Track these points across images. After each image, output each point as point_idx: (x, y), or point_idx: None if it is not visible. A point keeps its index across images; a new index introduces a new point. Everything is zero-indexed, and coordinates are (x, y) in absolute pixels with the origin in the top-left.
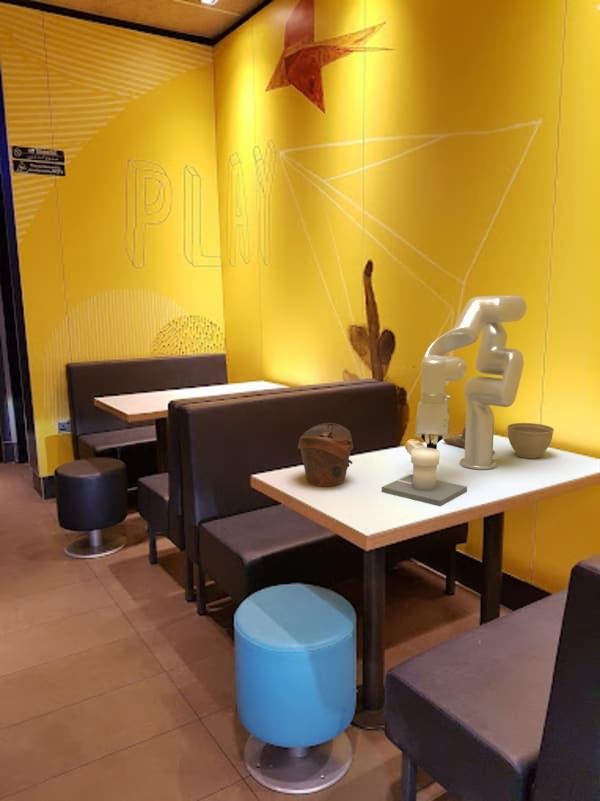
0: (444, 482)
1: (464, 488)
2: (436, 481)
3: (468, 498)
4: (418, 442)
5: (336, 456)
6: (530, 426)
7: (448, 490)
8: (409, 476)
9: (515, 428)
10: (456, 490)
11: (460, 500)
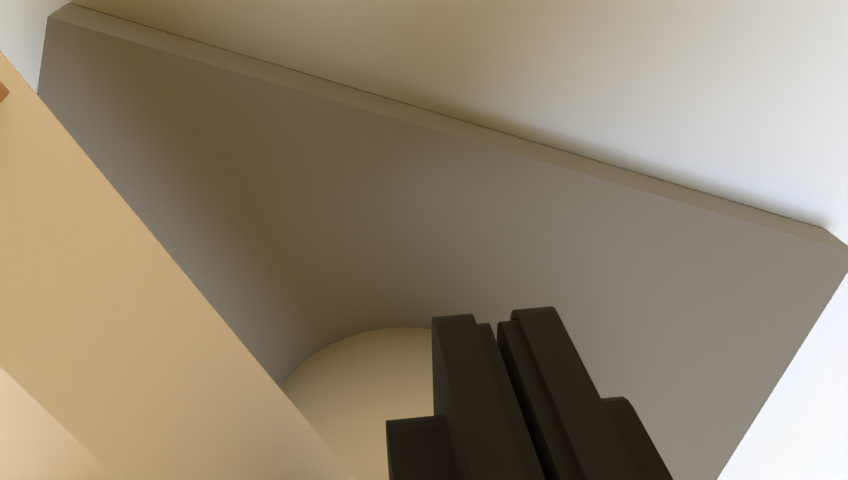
0: (602, 203)
1: (821, 306)
2: (500, 206)
3: (814, 408)
4: (10, 468)
5: None
6: None
7: (654, 440)
8: (81, 127)
9: None
10: (733, 409)
11: (740, 477)
